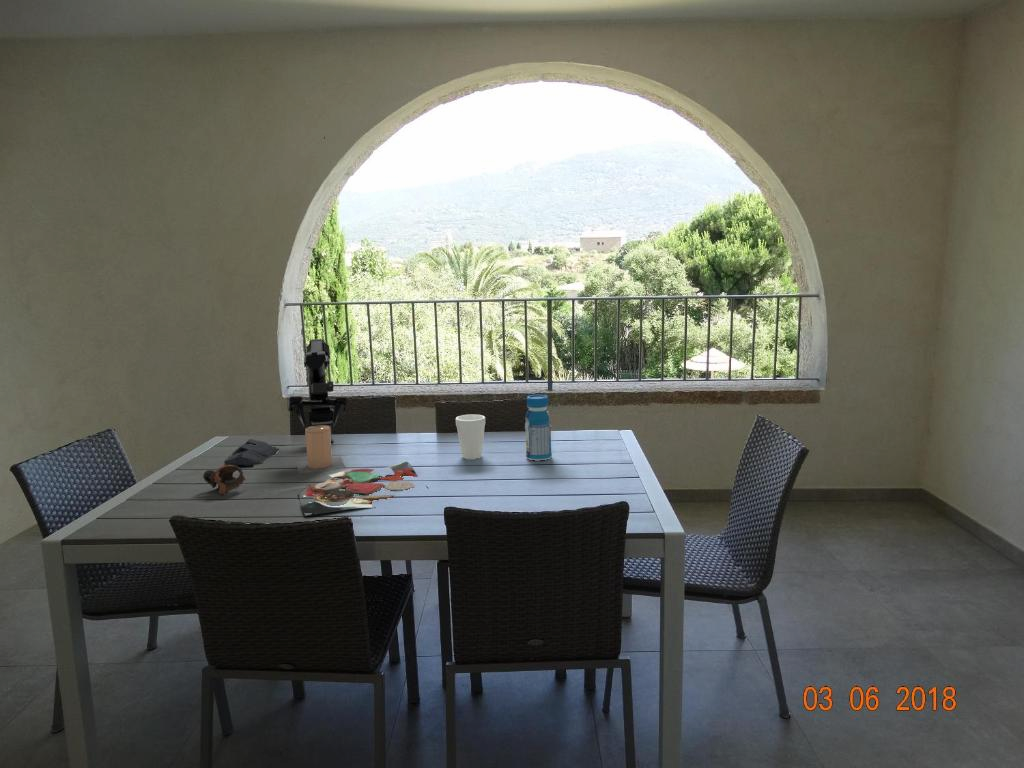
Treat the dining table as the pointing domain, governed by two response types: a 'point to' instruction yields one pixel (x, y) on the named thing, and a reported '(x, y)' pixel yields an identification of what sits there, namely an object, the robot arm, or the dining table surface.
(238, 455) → the dark slate chunk
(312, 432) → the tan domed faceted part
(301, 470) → the charcoal mat
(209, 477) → the brown rounded piece
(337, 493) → the colorful flat pile
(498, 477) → the dining table surface
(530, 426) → the beverage bottle
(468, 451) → the foam cup
